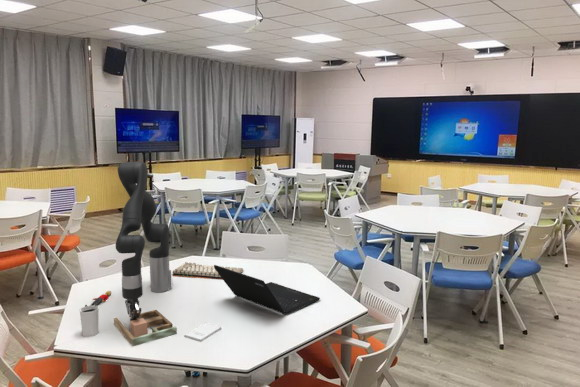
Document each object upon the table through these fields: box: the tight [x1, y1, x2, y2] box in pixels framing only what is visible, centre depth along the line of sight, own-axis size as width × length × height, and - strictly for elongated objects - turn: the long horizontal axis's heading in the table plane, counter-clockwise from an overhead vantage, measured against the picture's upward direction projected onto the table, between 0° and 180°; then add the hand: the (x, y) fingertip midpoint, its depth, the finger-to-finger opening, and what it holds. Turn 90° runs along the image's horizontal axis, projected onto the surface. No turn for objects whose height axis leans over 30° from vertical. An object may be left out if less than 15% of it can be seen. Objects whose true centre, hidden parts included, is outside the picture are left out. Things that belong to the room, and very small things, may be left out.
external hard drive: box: [183, 322, 222, 343], centre depth 172 cm, size 2×8×12 cm
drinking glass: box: [79, 305, 100, 338], centre depth 170 cm, size 7×7×10 cm
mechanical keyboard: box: [171, 261, 244, 281], centre depth 244 cm, size 38×19×3 cm, turn 80°
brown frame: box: [113, 309, 178, 347], centre depth 175 cm, size 17×23×2 cm
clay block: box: [129, 318, 149, 338], centre depth 170 cm, size 5×5×5 cm
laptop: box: [213, 264, 321, 315], centre depth 202 cm, size 33×38×19 cm
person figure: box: [84, 290, 112, 307], centre depth 202 cm, size 5×4×18 cm
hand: (133, 326), depth 174 cm, fingers closed
